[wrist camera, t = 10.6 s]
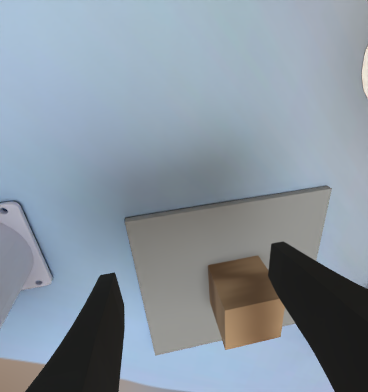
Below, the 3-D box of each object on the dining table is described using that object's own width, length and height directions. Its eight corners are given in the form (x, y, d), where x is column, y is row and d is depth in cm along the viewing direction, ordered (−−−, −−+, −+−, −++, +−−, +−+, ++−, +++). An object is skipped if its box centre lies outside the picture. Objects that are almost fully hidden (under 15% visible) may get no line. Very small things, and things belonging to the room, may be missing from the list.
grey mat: (155, 350, 28) (155, 355, 28) (125, 218, 20) (124, 222, 19) (299, 317, 30) (302, 321, 30) (327, 185, 22) (331, 188, 22)
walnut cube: (209, 301, 25) (225, 350, 21) (207, 265, 23) (224, 310, 19) (255, 291, 26) (280, 336, 21) (258, 255, 24) (286, 297, 19)
